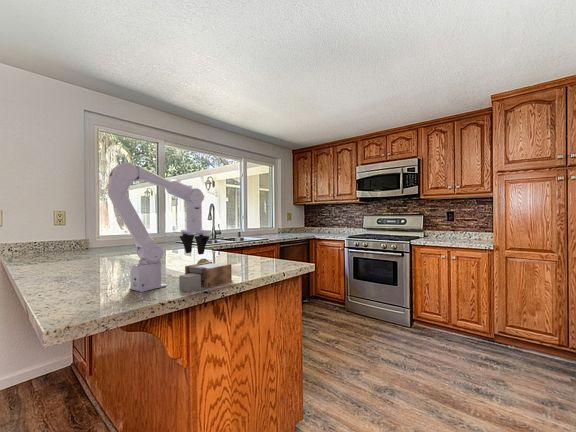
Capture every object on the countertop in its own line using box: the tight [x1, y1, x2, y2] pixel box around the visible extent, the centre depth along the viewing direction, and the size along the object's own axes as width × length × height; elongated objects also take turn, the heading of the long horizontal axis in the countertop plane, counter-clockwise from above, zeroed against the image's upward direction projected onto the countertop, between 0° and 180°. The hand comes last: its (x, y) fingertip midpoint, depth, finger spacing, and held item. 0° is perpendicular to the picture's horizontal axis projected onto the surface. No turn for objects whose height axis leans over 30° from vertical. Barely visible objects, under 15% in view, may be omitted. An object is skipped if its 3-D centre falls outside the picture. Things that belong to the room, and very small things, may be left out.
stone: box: [178, 273, 202, 293], centre depth 99 cm, size 5×5×5 cm
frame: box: [184, 261, 233, 288], centre depth 109 cm, size 12×12×6 cm
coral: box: [196, 258, 211, 264], centre depth 124 cm, size 14×6×6 cm, turn 19°
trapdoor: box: [189, 262, 223, 274], centre depth 109 cm, size 11×9×2 cm
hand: (194, 253), depth 113 cm, fingers open, 7 cm apart
